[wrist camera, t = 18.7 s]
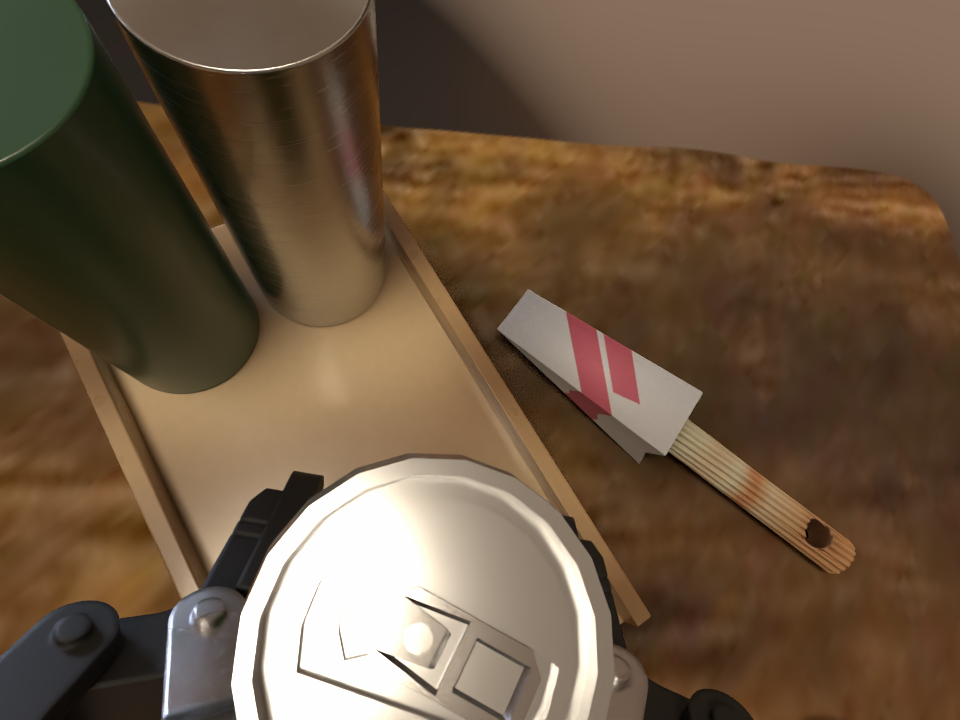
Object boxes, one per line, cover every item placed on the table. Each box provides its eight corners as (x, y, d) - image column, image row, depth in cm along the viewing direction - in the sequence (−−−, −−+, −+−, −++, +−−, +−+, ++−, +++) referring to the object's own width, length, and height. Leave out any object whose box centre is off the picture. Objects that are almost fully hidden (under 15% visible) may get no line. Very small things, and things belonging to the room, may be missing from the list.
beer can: (518, 549, 19) (687, 554, 8) (442, 710, 18) (524, 1005, 6) (382, 473, 20) (362, 374, 8) (293, 625, 18) (111, 765, 6)
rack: (139, 354, 27) (-394, -40, 9) (367, 251, 30) (323, -189, 12) (338, 767, 23) (113, 1614, 5) (576, 595, 26) (974, 706, 8)
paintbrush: (542, 268, 27) (877, 526, 27) (528, 291, 30) (832, 527, 29) (496, 325, 26) (846, 598, 25) (485, 343, 29) (802, 592, 28)
